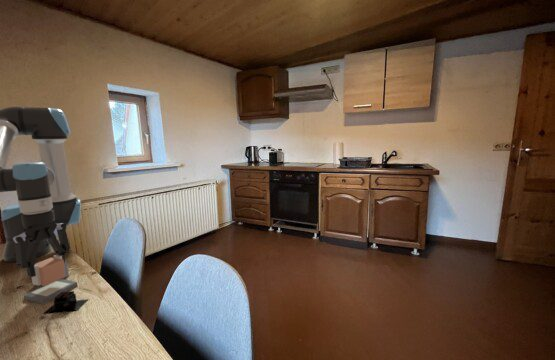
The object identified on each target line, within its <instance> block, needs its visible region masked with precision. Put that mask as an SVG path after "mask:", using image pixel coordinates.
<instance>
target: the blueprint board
mask: <svg viewBox="0 0 555 360" xmlns="http://www.w3.org/2000/svg"><path fill="white" fill-rule="evenodd" d="M78 286H79V285H78V282H77V281H73V280H67V279H65V278H64V279H59V280H57V281H55V282H53V283H51V284H49V285H46V286H43V285H41V286H40V287H37V288H36V289H34V290H31V291H30V292H28V293H26V294H23V300H26V301H31V302H35V303H37V304H38V303H39V304H42V305H45V304H46V303H48V302H50V301H53V300H54V298H55V297H56V296H57V295H59V294H60V293H61V292H70V290H71V291H72V290H73V289H74V288H76V287H78Z"/></svg>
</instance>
